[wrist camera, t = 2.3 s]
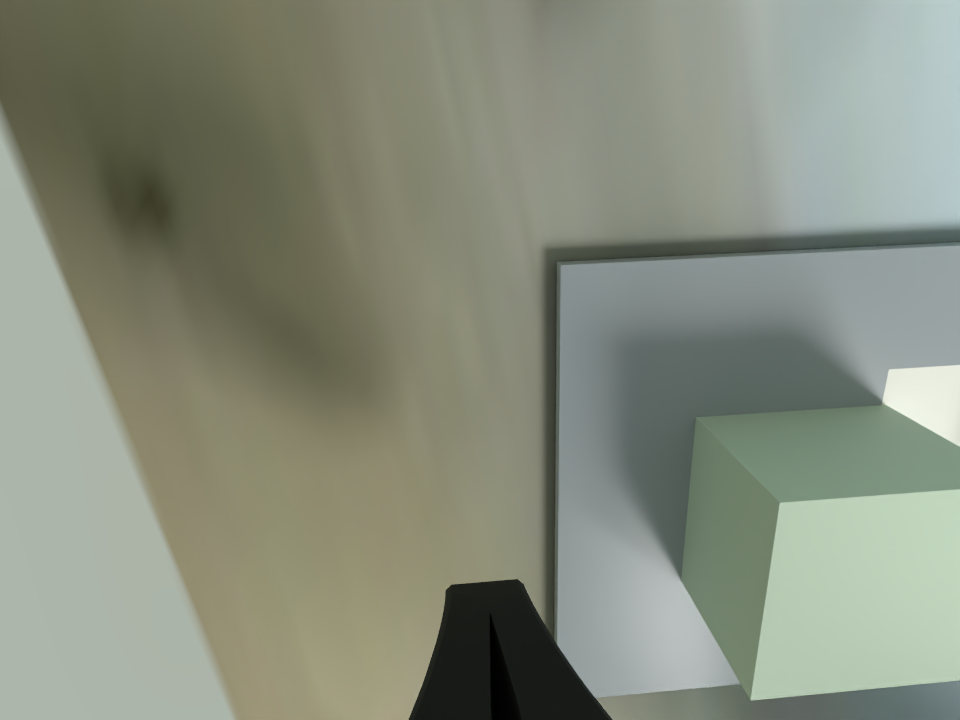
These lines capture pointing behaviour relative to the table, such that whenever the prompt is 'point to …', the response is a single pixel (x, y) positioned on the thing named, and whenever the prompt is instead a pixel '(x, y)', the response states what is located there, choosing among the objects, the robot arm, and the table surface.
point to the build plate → (713, 392)
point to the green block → (826, 549)
